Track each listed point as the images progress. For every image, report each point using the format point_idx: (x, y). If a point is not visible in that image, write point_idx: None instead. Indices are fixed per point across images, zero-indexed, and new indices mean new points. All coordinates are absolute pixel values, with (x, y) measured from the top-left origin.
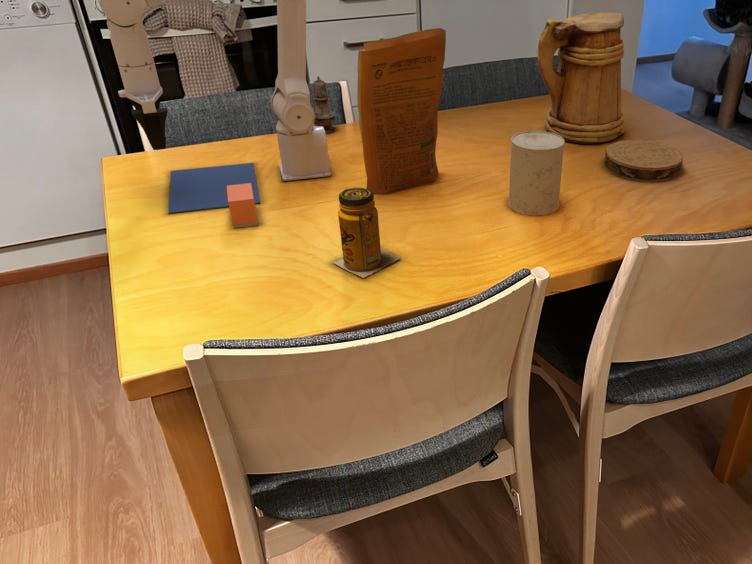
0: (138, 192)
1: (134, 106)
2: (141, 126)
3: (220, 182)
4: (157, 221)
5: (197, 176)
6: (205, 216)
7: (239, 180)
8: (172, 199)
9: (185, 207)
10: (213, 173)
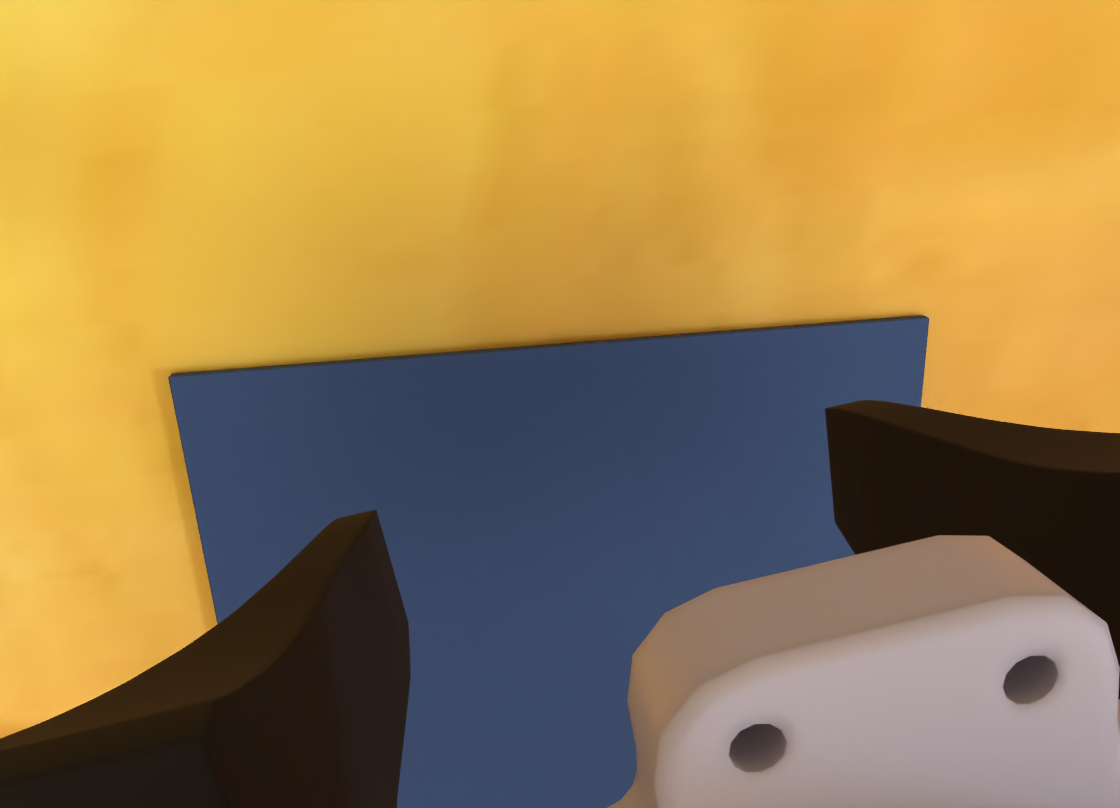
0: (613, 113)
1: (1091, 481)
2: (137, 676)
3: (623, 645)
4: (49, 311)
5: (766, 501)
6: (112, 602)
7: (629, 742)
8: (399, 381)
9: (243, 480)
10: None
